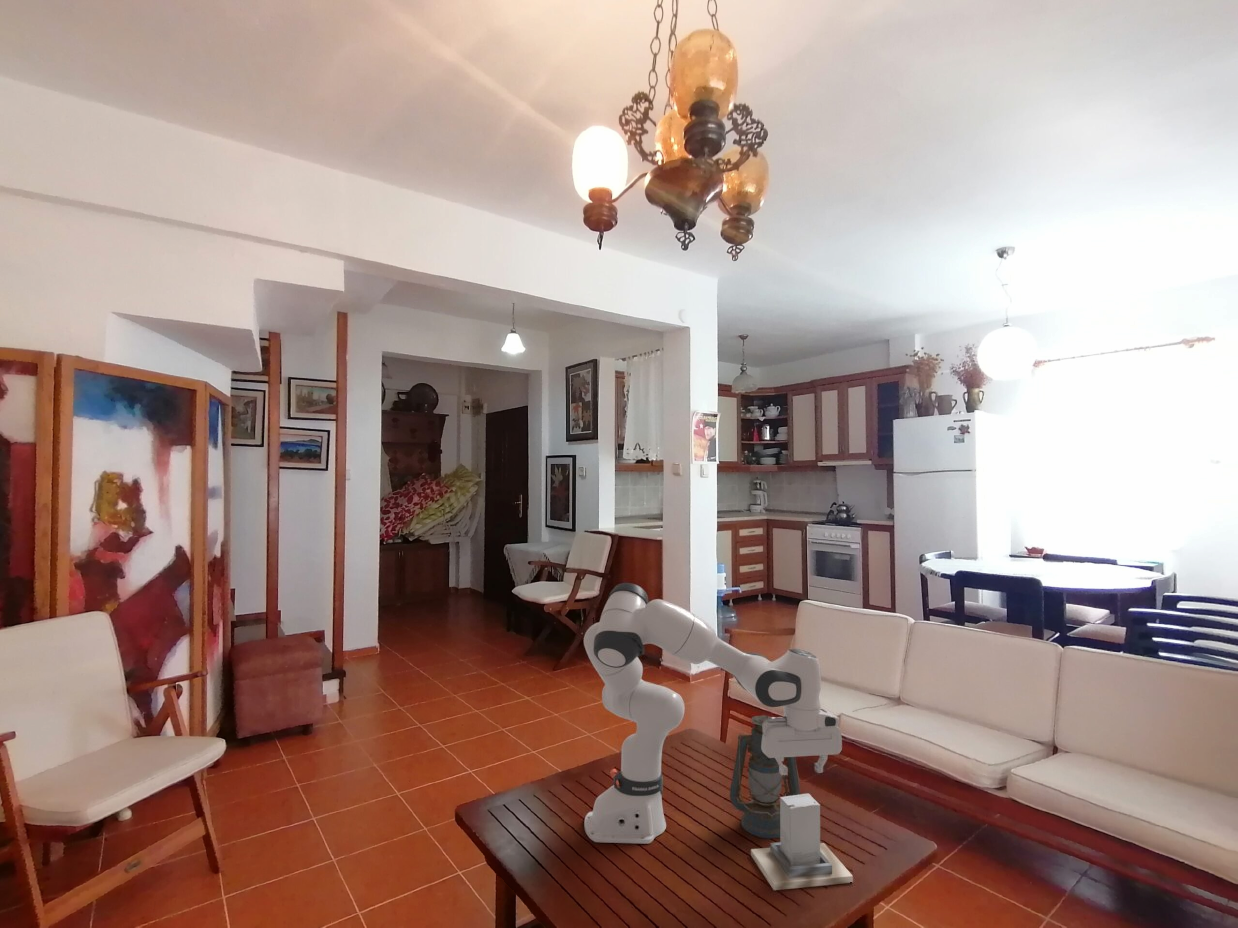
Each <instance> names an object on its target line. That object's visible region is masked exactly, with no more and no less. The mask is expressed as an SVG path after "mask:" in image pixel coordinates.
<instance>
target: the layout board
mask: <svg viewBox="0 0 1238 928" xmlns="http://www.w3.org/2000/svg"><path fill="white" fill-rule="evenodd" d="M750 856H751V858H752V860H753V861H754V863H756V866H757V867H758V869H759V870H760V872H761V873H762V875H763V876H764V878H765V879H766V880H767V882H768V884H769V886H771V888H772V890H773V891H781V890H790V889H801V888H809V887H811V888H812V887H819V886H820V887H822V886H830V885H831V886H832V885H840V884H841V885H842V884H850V882H852V883H854V876H853V874H852V873H851V872H850V871H849V870H848V869H847V868H846V866H845V865H844V864H843V863H842V862H841V861H840V860H839V858H838V857H837V856H836V855H835V854H834V853H833V852H832V850H830V848H829V847H828V846H827V845H826V844H825V842H823V843H822V842H820V864H813V865H802V866H791V865H790V864H789V863H788V861H787V860H786V859H785V857H784V856H783V855H782V853H781V842H779V841H778V842H770V843H769V847H761V848H751V849H750Z"/></svg>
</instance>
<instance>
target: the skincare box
mask: <svg viewBox="0 0 1238 928" xmlns="http://www.w3.org/2000/svg"><path fill="white" fill-rule="evenodd" d="M779 802H780V803H779V804H780V838H779V839H780V842H781V853H782V855H783V856H784V857H785V859H786V860H787V861H788V863H789V864H790V865H791V866H802V865H813V864H820V843H821V804H820V803H819V802H818V801H817V800H816V799H815V798H814V797H812V795H811V794H810V793H800V795H793V796H790V795H789V796H786V795H785V796H784V797H783V796H780V798H779Z"/></svg>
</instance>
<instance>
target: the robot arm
mask: <svg viewBox="0 0 1238 928" xmlns="http://www.w3.org/2000/svg"><path fill="white" fill-rule="evenodd" d="M648 644H649V645H650V644H651V645H654V646H657V647H658V648H661V649H662V650H663V651H665V652H666V653H668V654H670V655H672V656H674V657H675V658H677V659H679V660H681V661H684V662H687V663H690V664H692V665H700V664H702V663H704V662H709V663H712V664H713V665H715V666H717V667H719V668H721V669H722V670H724V671H726V672H728V673H729V674H731V675H732V676H733V677H734V679H735V680H736V682H737V683H738V685H739V686H740V687H741V688H742V689H743V690H745V691H747V692H748V693H749V694H750V695H751V696H753V697H754V698H755V699H756V700H757V701H758V702H759V703H761V704H762V705H764V706H766V707H769V708H777V707H778V708H779V707H783V716H778V717H774V716H770V718H768V719H767V720H765V721H764V722H763V725H762V731H763V736H762V743H761V750H762V752H763V753H764V754H765V755H766V756H767V757H768V758H775V759H776V761H777V763H778V765H779V772H780V774H781V775H784V776H785V775H786V776H788V772H787V771H788V768H787V767H786V764H783V762H784V760H785V757H795V758H796V757H809V756H812V757H813V756H819V758H818V760H817V762H814V764H813V766H814V768H813V770H814V772H815V773H818V774H819V773H820V774H821V773H823V772H824V766H825V764H826V763H827V761H828V756H829V755H839V754H840V753H841V751H842V749H843V739H842V731H841V729H840V727H839V726H840V718H839V717H838V716H837V715H835V714H834V713H832V712H831V711H829V710H827V709H825V708H822V707H821V702H820V701H821V700H820V693H821V690H822V677H821V675H822V673H821V667H820V664H821V663H820V660H819V659H818V657H817V656H816V655H814V654H813V653H811V652H810V651H807V650H804V649H799V648H789V649H787V651H786V652H785V653H784V654H783V655H782V656H780V657H779V658H777V659H775V660H773V661H772V660H769V658H767V657H766V656H765V655H763V654H761V653H759V652H748V651H742V650H740V649H738V648H736V647H734V646H733V645H731V644H729V643H727V642H726V641H725V640H722V639H721V638H720V637H718V636H717V633H716V630H715V629H714V628H713V627H712V626H711V625H709V623H707V622H706V621H704V620H703V619H702V618H701V617H699V616H698V615H696V614H694V613H693V612H691V611H689V610H687V609H685V608H683V607H681V606H679V605H677V604H675V603H672V602H669V601H667V600H664V599H661V598H657V599H652V600H651V601H649V596H648V594H647V592H646V591H645V590H644V589H643V588H642V587H641V586H639V585H637V584H634V583H632V582H631V583H630V582H622V583H619V584H616V585H615V586H614V588H613V589H612V590H611V591H610V592H609V595H608V597H607V601H606V603H605V605H604V607H603V610H602V612H601V615H600V618H599V622H595V623H593V624H592V625H591V626H589V628H588V629H587V630H586V632H585V633H584V637H583V647H584V648H585V651H586V654H587V656H588V659H589V660H590V663H591V664H592V667H593V668H594V669H595V672H597V674H598V675H599V677H600V678H601V680H602V682H603V683H604V686H603V687H602V692H601V702H602V705H603V707H604V708H605V709H606V710H607V711H609V712H610V713H612V714H614V715H615V716H617V717H619V718H622V719H625V720H628V721H632V722H634V723H636V731H635V733H632V734H630V735H629V736H627V737H626V738H625V739H624V741H623V743H622V745H621V754H620V755H621V759H620V760H621V761H620V762H621V764H620V766H621V767H620V770H619V771H618V770H617V769H616V768H612V769H611V771H609V773H610V777H611V779H613V785H612V786H610V787H608V789H606V790H604V792H602V793H601V794H600V795H599V796H597V797H596V799H595V801H594V805H593V809H592V811H588V812H587V814H585V818H584V823H583V825H584V826H583V827H584V831H585V834H586V835H587V836H588V838H589V839H590V840H591V841H593V842H594V843H611V844H612V843H614V844H616V843H617V844H644V845H645V844H647V845H649V844H651V843H652V842H653V841H654V839H655V838H656V837H658V836H659V835H661V834H663V833H664V832H665V830H666V828H667V822H666V818H665V815H664V814H665V813H664V808H663V801H662V800H663V799H662V795H663V790H664V778H663V776H664V775H663V773H662V756H663V748H664V747H663V745H664V742H665V740H666V737H667V736H668V734H669V733H670V732H672V730H675V729H677V728H678V726H679V725H680V724H681V723H682V720H683V719H684V715H685V710H686V709H685V702H684V700H683V698H682V696H681V695H680V694H679V693H678V692H676V691H674V690H672V689H671V688H669V687H667V686H663V685H660V684H655V683H653V682H649V681H647V680H646V681H645V680H643V679H642V677H643V672H644V669H643V667H644V666H643V664H642V662H641V660H640V659H639V657H641V656H642V655H644V653H645V645H648ZM767 721H768V722H767Z"/></svg>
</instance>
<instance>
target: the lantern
mask: <svg viewBox="0 0 1238 928" xmlns="http://www.w3.org/2000/svg"><path fill="white" fill-rule="evenodd" d="M770 717H771V716H770V715H766V714H761V715H755V716H752V717H751V718H750V721H751V723H752V724H754V725H753V727H752V728H751V734H742V733H741V732H740V733H739V735H738V737H737V739H738V740H737V748H736V753H735V762H734V767H733V771H732V779H731V782H730V783H731V784H730V788H729V789H730V791H729V800H730V803H731V804H732V805H733V807H734V808H735V809H737V810H739V811H740V812H742V813H743V815H742V816H741V820H740V825H741V827H742V828H743V830H744V831H746V832H747V833H749V834H750V835H753V836H756V837H758V838H763V839H778V838H779V839H780V801H779V800H780V797H781V796H780V793H781V791H782V785H783V786H784V791H785V792H784V793H783V796H782V797H785V796H793V795H800V794H801V788H800V777H799V772H798V765H797V759H796V757H784V760H785V766H786V767H787V768H788V771H787V772H788V774H787V775H781V774H780V772H779V765H778V763H777V761H776V759H775V758H768V757H767V756H766V755H765V754H764V753H763V752H762V750H761V743H762V736H763V731H762V725H763V722H764V721H765V720H767V719H768V718H770ZM767 722H768V721H767ZM747 752H748V753H749V754H751V755H750V757H749V759H748V763H747V766H748V768H747V779H748V786H749V795H746V798H748V799H751V800H750V801H747V802H746V801H745V800H744V799H743V793H742V789H741V788H742V787H741V786H742V778H743V773H744V767H745V761H746V754H747Z"/></svg>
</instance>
